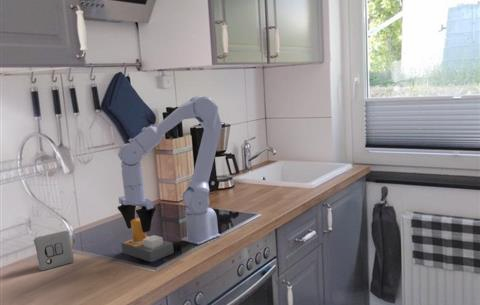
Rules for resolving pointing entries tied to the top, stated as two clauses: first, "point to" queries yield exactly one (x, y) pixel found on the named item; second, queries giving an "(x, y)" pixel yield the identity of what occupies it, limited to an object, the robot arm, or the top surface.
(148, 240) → the button
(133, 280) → the top surface
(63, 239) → the electrical switch
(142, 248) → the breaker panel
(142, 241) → the tagged button
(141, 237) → the cap
